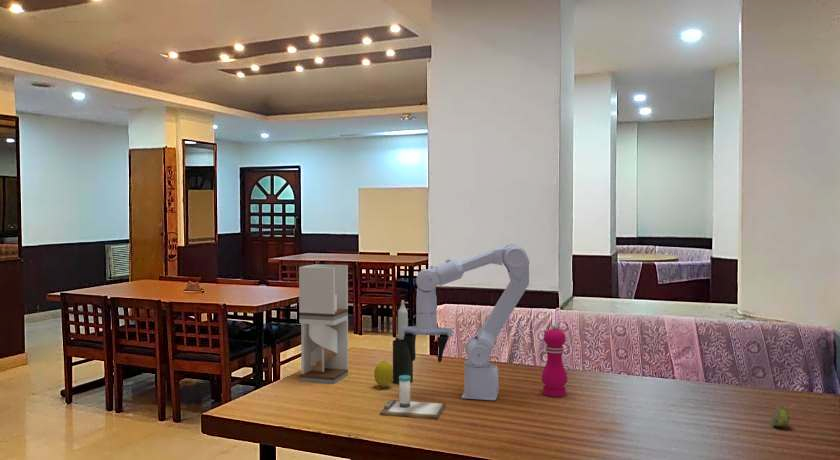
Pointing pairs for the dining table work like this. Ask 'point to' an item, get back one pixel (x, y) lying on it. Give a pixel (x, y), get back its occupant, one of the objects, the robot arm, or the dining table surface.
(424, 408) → the clipboard
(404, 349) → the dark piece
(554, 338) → the pepper mill
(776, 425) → the lime
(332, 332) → the white tiered tower model
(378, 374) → the lemon
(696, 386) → the dining table surface
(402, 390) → the marker
